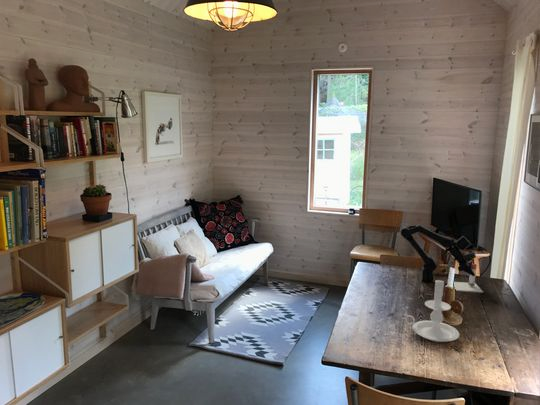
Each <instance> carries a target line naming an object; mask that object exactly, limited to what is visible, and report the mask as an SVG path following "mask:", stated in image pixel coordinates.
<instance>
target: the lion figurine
mask: <svg viewBox="0 0 540 405" xmlns="http://www.w3.org/2000/svg"><path fill="white" fill-rule="evenodd" d="M434 260H435V261H436V269H435V270H434V273H435V274H438V273H439V272H438V271H439V270H443V271H444V270H445V272H444V274H448V272H450V269H451V266H450V265H449V264H442V263H440V262H439V261H437V260H436V259H434ZM449 268H450V269H449Z"/></svg>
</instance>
